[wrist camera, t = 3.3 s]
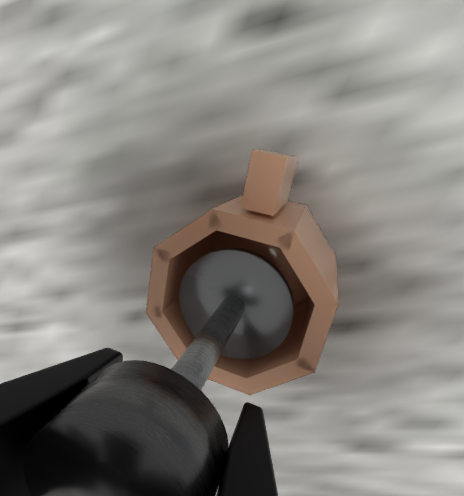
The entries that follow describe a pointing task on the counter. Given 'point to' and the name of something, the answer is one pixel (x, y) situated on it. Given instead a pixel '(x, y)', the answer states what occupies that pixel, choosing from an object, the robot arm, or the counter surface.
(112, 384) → the plunger
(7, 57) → the counter surface
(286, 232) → the octagonal copper jug
